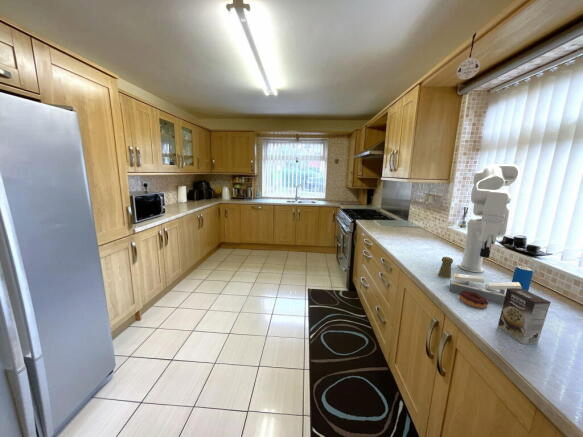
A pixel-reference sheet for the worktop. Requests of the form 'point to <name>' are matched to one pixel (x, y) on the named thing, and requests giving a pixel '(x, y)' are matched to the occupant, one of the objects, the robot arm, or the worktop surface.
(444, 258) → the cork
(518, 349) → the worktop surface
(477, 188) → the robot arm
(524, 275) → the beverage can
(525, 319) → the coffee box
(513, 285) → the block
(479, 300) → the donut
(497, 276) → the worktop surface
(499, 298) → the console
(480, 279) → the block
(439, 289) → the worktop surface
